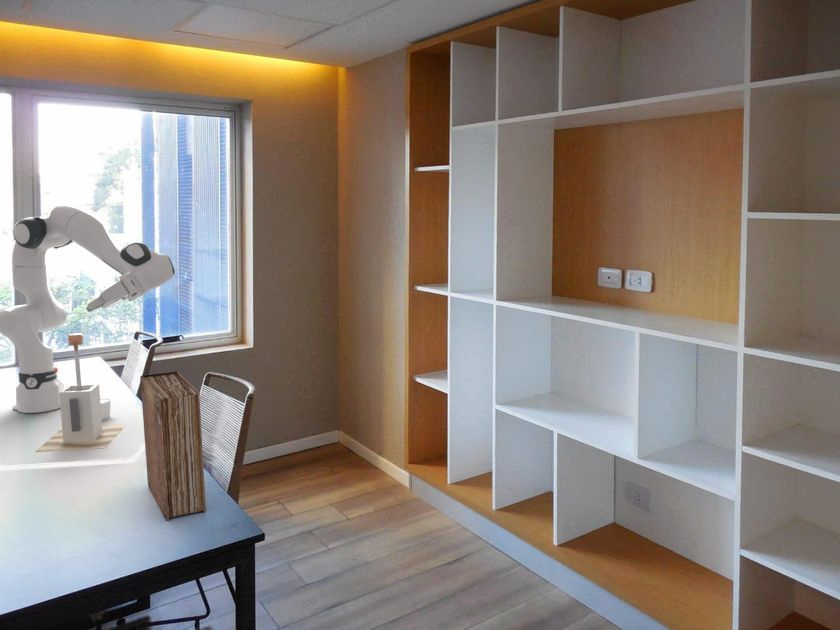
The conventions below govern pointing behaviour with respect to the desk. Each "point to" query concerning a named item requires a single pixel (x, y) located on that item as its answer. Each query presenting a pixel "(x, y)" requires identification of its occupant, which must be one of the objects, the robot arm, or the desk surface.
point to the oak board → (99, 443)
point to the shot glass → (105, 408)
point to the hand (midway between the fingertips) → (87, 308)
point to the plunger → (76, 355)
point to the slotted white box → (80, 413)
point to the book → (173, 443)
